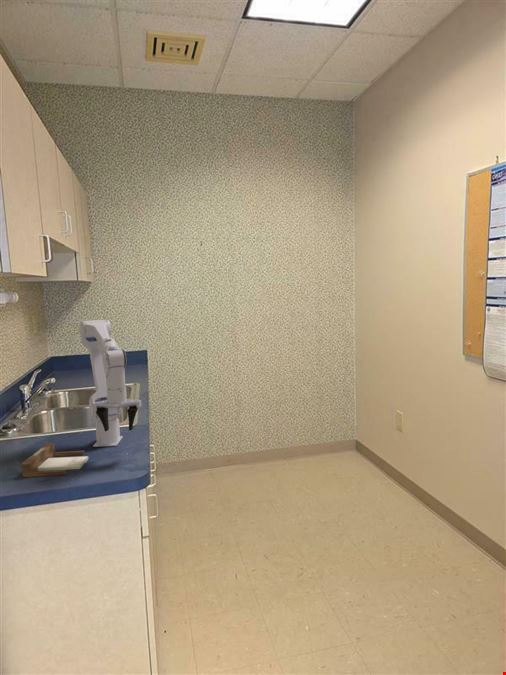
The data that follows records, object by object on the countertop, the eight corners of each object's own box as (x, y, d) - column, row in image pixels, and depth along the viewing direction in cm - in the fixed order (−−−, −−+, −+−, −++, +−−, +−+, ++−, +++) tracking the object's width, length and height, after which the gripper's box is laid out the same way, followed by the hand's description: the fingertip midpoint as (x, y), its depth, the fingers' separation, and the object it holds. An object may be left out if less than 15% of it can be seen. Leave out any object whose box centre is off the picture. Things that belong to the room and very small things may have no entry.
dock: (47, 455, 143) (46, 442, 142) (84, 453, 143) (83, 440, 143) (22, 477, 125) (21, 462, 125) (64, 474, 126) (63, 460, 126)
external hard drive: (49, 462, 138) (88, 460, 138) (37, 472, 130) (79, 470, 130) (48, 457, 138) (88, 455, 138) (37, 467, 129) (79, 465, 130)
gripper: (88, 391, 132) (91, 434, 134) (136, 389, 133) (139, 432, 134) (96, 386, 139) (98, 427, 141) (141, 385, 140) (143, 425, 141)
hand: (118, 429), depth 138 cm, fingers open, 7 cm apart
